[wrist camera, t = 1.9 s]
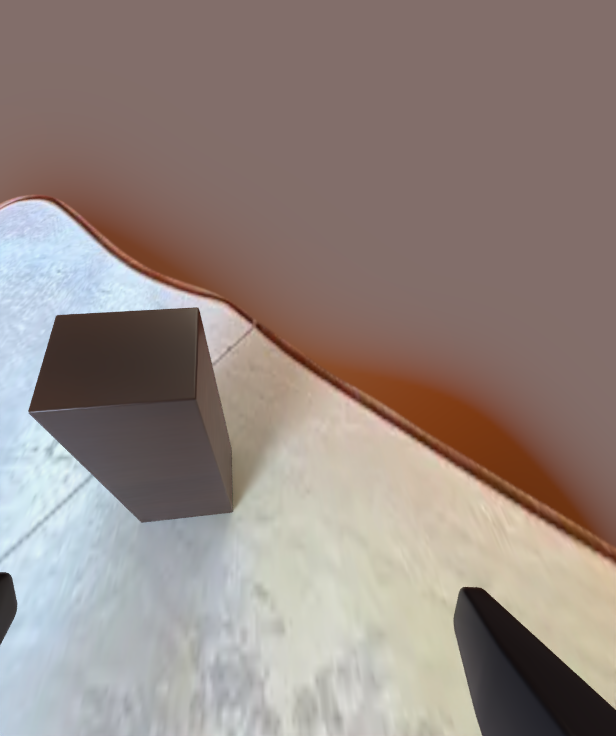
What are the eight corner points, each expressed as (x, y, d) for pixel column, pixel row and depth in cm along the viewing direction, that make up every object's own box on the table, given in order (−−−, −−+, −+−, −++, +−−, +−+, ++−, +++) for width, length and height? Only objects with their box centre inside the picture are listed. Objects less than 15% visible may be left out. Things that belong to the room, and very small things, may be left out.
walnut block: (233, 512, 23) (196, 399, 13) (141, 523, 23) (26, 412, 12) (231, 447, 25) (198, 306, 15) (147, 455, 25) (55, 314, 15)
